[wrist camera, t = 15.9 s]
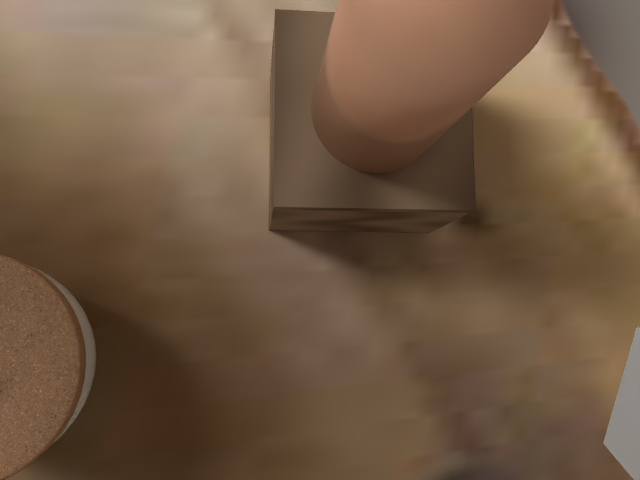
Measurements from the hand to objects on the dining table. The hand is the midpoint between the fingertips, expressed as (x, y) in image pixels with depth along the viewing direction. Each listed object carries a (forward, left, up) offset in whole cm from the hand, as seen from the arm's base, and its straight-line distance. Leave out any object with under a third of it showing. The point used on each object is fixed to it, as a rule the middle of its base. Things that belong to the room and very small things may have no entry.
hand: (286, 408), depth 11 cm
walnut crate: (+5, +12, -26) cm, 29 cm away
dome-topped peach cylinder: (+5, +12, -18) cm, 22 cm away
